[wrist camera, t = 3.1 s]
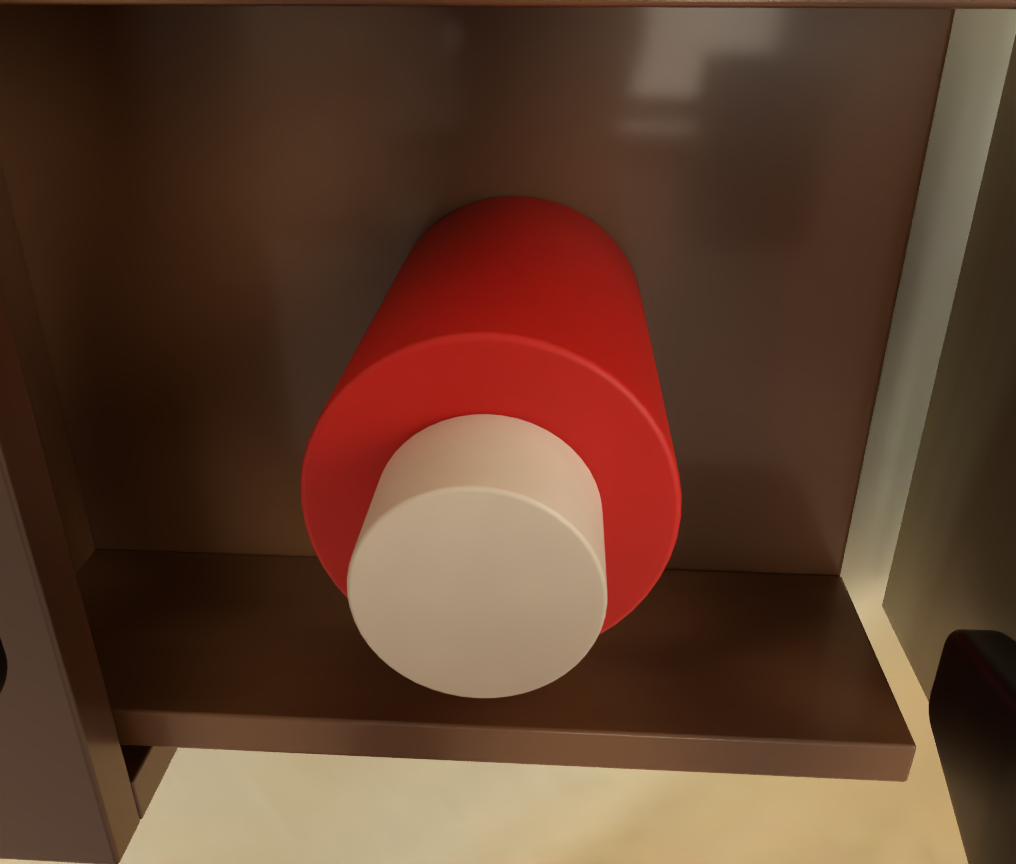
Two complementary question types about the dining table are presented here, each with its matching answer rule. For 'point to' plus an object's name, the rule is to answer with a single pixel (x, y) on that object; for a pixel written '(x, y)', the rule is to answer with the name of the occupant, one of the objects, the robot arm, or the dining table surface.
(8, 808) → the cabinet
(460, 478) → the ketchup bottle
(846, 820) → the dining table surface
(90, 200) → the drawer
